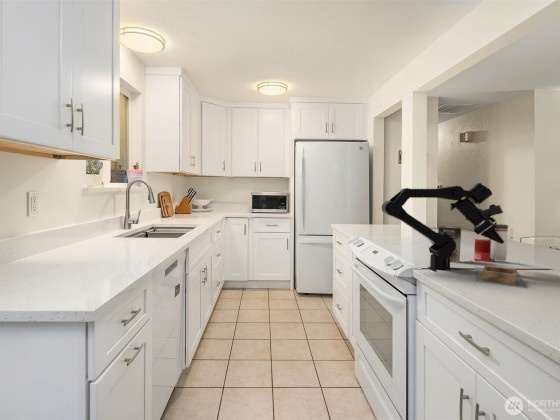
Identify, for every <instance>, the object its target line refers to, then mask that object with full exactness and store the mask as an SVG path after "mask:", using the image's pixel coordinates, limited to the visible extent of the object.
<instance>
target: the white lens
mask: <svg viewBox="0 0 560 420" xmlns="http://www.w3.org/2000/svg"><path fill="white" fill-rule="evenodd" d="M492 225H494V223H493V224H492ZM508 228H509V225H508V224H502V223H501V224H498V223H497V224H495V230H496V232H497V233H498V234H499V236H500V237H501V238H502V239H503V241H504V243H503V244H501V243H498V242H496V241H494V240H492V239H491V253H490V258H491V259H494V260H495V261H507V255H508V254H507V253H508V231H509V229H508Z"/></svg>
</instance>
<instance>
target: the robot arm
mask: <svg viewBox="0 0 560 420" xmlns="http://www.w3.org/2000/svg"><path fill="white" fill-rule="evenodd" d="M491 196H493V192H492V190H491V189H490V188H488V187H487V186H485V184H484V185H483V183H481V182H477V183H475V184H474V185H473V187H471V188H470V189H469V190H465V189H464V188H463V187H462V186H459V185H449V186H448V185H447V186H444V187H443V186H442V187H439V188H409V187H406V188H402V189H400V191H399V192H398V193H396V194H395V195H394V196H392V197H391V198H390V199H389V200H386V201H384V202H383V203H382V205H381V211H382V213H384V214H385V215H388V216H389V217H392V218H395V219H397V220H399V221H401V222H403V223H404V224H405V225H406V226H408V227H410V228H411V229H413V230H414V231H416V232H417V233H419V234H420V235H422V236H423V237H425V238H427V240H429V242H430V243H431V246H429V247H428V250H429V253H430V266H427V269H429V270H431V271H433V272H435V273H436V272H438V271H447V270H451V262H450V259H449V258H450V257H451V255H452V253H453V251H454V250H455V249H456V242H455V241H454V240H453V239H454V238H452V237H450V236H448V235H447V234H446V233H445V232H441V231H438V230H437V232H436V231H435V230H433V229H432V228H430V227H429V226H427V225H426V224H424V223H423V222H421V221H419V219H417V218H415V217H413V216H412V215H411V214H409V213H408V212H407V211H406V210H405V209H404V208H403V206H404V205H405V204H406V203H407V201H408V200H409V199H411V198H412V199H413V198H415V199H417V198H419V199H421V198H423V199H424V198H426V199H427V198H431V199H432V198H433V199H435V198H436V199H441V200H447V201H455V202H454V203H452V202H451V203H450V204H449V206H450V207H449V210H450V212H452V211H454V210H455V209H456V210H457V212H459V213H460V214H461V215H462V216H463V217H464V218H465V220H466V221H469V222H470V223H471V224H472V225H473V232H474V233H475V234H476V235H480V236H481V237H487V238H489V239H492V240H494V241H496V242H498V243H501V244H503V243H504V241H503V239H502V238H501V237H500V236H499V234H498V233H497V232H496V230H495V224H498V223H497V222H496V221H497V220H496V219H495V218H494V217H493V216H496V215H501V214H503V213H504V211H503V209H502V207H501V205H500V204H497V205H496V204H494V203H493V204H490V205H489V206H488V208H486V209H482V208H480V207H478V206H477V205H481V204H482V203H483V202H485V201H486V200H487V199H489V198H490V197H491ZM476 204H477V205H476ZM492 224H494V225H492Z"/></svg>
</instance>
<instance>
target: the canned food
mask: <svg viewBox="0 0 560 420" xmlns="http://www.w3.org/2000/svg"><path fill="white" fill-rule="evenodd" d="M473 249H474V255H473V260H474V261H475V262H485V263H493V262H496V260H494V259H491V258H490V253H491V239H489V238H487V237H484V236H475V237H474V248H473Z"/></svg>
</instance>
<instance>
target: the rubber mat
mask: <svg viewBox="0 0 560 420" xmlns="http://www.w3.org/2000/svg"><path fill="white" fill-rule="evenodd" d="M483 269H484V267H478V266H477V267H475V282H476V283H484V284H491V285H496V286H506V287H514V288H520V289H521V288H522V289H528V287H527V285H526V283H525V281H524V279H523V278H522V276H521V273H520V272H519V271H517V281H516V286H515V285H508V284H502V283H495V282H488V281H482V270H483Z"/></svg>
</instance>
